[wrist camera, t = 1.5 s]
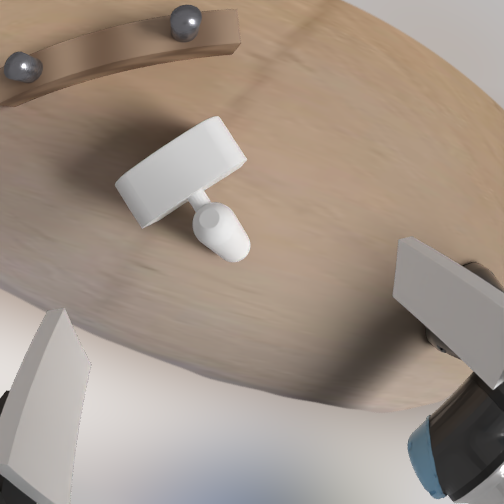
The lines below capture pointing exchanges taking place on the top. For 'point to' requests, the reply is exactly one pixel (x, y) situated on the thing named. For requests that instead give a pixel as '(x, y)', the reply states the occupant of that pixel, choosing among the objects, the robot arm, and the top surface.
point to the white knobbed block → (190, 186)
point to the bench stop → (119, 51)
